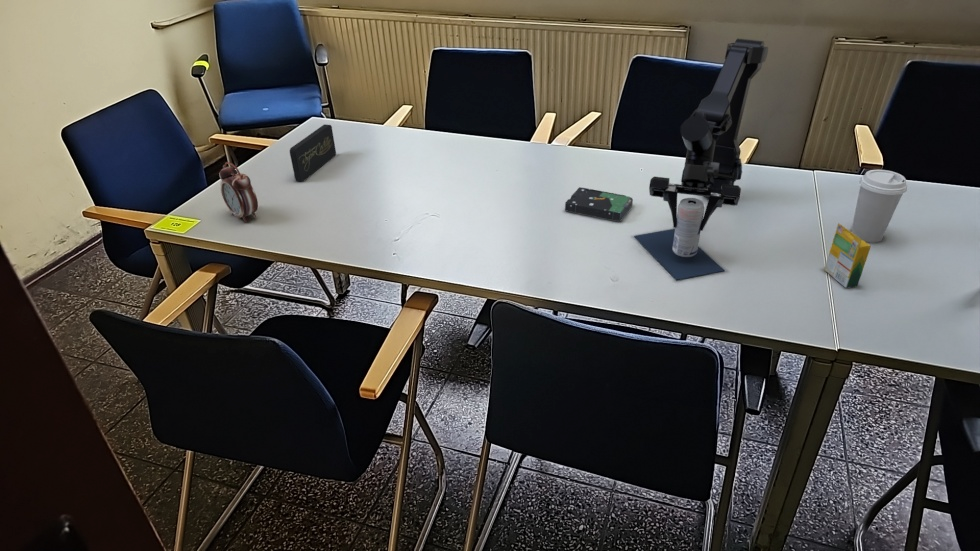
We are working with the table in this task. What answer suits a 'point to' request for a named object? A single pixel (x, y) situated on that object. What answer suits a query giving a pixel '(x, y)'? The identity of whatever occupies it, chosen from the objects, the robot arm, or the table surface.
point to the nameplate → (312, 152)
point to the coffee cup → (877, 203)
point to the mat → (674, 264)
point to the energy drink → (688, 227)
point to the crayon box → (847, 257)
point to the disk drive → (599, 204)
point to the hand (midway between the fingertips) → (687, 228)
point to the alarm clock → (238, 192)
